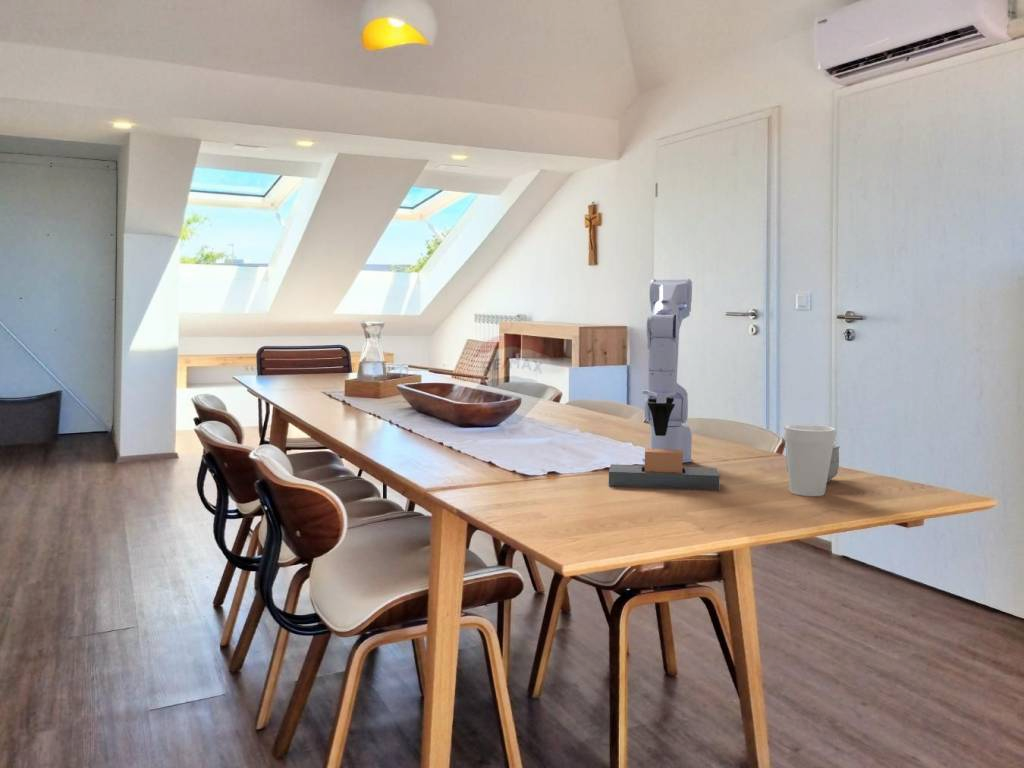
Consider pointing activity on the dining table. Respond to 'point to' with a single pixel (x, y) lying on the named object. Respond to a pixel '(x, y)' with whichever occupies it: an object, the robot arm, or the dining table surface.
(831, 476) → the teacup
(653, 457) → the tan orange block
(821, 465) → the foam cup
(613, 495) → the dining table surface
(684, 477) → the slate rail
